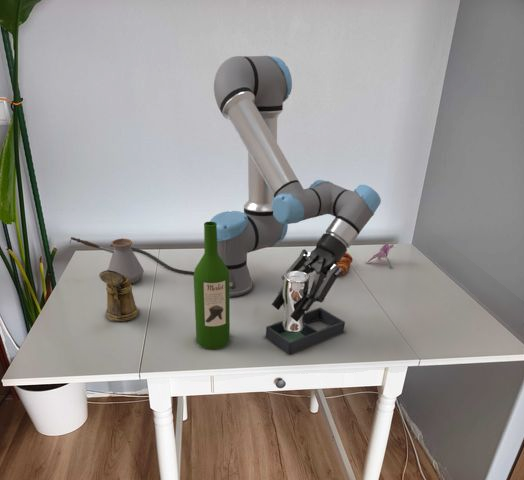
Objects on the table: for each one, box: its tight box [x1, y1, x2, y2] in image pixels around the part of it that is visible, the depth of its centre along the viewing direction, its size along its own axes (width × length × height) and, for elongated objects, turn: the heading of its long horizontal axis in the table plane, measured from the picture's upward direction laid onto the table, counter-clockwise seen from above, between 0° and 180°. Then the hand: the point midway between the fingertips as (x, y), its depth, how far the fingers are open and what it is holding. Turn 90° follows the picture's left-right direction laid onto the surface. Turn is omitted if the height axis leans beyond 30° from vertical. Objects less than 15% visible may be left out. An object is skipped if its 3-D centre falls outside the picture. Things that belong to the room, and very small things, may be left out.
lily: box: [366, 240, 399, 268], centre depth 180 cm, size 12×12×10 cm
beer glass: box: [282, 271, 311, 333], centre depth 130 cm, size 7×7×15 cm
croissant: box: [336, 251, 353, 276], centre depth 177 cm, size 21×10×8 cm, turn 1°
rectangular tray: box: [265, 307, 346, 355], centre depth 138 cm, size 10×20×4 cm, turn 127°
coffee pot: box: [69, 236, 144, 284], centre depth 159 cm, size 21×12×15 cm, turn 100°
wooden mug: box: [98, 269, 139, 323], centre depth 138 cm, size 9×14×18 cm, turn 2°
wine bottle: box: [193, 221, 231, 350], centre depth 126 cm, size 9×9×32 cm
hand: (284, 312), depth 129 cm, fingers closed on beer glass, 7 cm apart
